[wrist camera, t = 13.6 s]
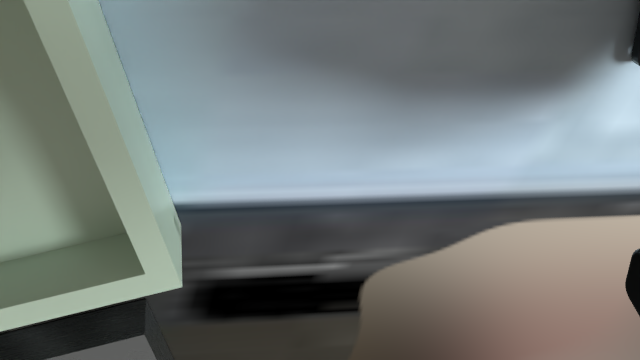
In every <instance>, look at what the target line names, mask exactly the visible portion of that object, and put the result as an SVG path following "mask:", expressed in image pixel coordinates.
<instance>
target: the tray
mask: <svg viewBox="0 0 640 360" xmlns="http://www.w3.org/2000/svg"><path fill="white" fill-rule="evenodd" d="M180 287H182V250H181V224H180V221H179V218H178V216H177V213H176V210H175V207H174V205H173V202H172V199H171V197H170V194H169V191H168V188H167V186H166V183H165V180H164V178H163V175H162V172H161V169H160V167H159V164H158V161H157V159H156V156H155V153H154V150H153V148H152V145H151V142H150V140H149V137H148V134H147V131H146V129H145V126H144V123H143V121H142V118H141V115H140V112H139V110H138V107H137V104H136V101H135V99H134V96H133V93H132V91H131V88H130V85H129V82H128V80H127V77H126V74H125V72H124V69H123V66H122V63H121V61H120V58H119V55H118V53H117V50H116V47H115V44H114V42H113V39H112V36H111V34H110V31H109V28H108V25H107V23H106V20H105V17H104V15H103V12H102V9H101V6H100V4H99V1H98V0H0V332H1V331H5V330H9V329H13V328H17V327H21V326H25V325H29V324H33V323H37V322H41V321H46V320H50V319H54V318H58V317H62V316H66V315H70V314H74V313H78V312H82V311H86V310H90V309H94V308H99V307H103V306H107V305H111V304H115V303H119V302H123V301H127V300H131V299H135V298H139V297H143V296H147V295H152V294H156V293H160V292H164V291H168V290H172V289H176V288H180Z"/></svg>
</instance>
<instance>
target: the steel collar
mask: <svg viewBox="0 0 640 360" xmlns="http://www.w3.org/2000/svg"><path fill="white" fill-rule="evenodd" d="M0 360H174V358H173V356H172V354H171V352H170V350H169V348H168V345H167V343H166V341H165V339H164V337H163V335H162V332H161V330H160V328H159V326H158V324H157V322H156V319H155V317H154V315H153V313H152V311H151V309H150V306H149V304H148V302H147V300H146V299H143V300H139V301H135V302H131V303H127V304H123V305H119V306H115V307H111V308H107V309H103V310H99V311H94V312H90V313H86V314H82V315H78V316H74V317H70V318H66V319H62V320H58V321H54V322H50V323H46V324H42V325H38V326H33V327H29V328H25V329H21V330H17V331H13V332H9V333H5V334H1V335H0Z"/></svg>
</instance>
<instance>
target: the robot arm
mask: <svg viewBox="0 0 640 360" xmlns="http://www.w3.org/2000/svg"><path fill="white" fill-rule="evenodd" d="M632 60H633V62H634V63H636V64H638V65H639V66H640V13H639V18H638V23H637V29H636V34H635V39H634V44H633V49H632ZM626 291H627V294H628V296H629V299H630V300H631V302H632V304H633V305H634V307H635V309H636V311H637V312H638V314H639V316H640V249H637V250H636V251H635V252H634V253H633V255H632V258H631V262H630V266H629V270H628V274H627V278H626Z"/></svg>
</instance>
